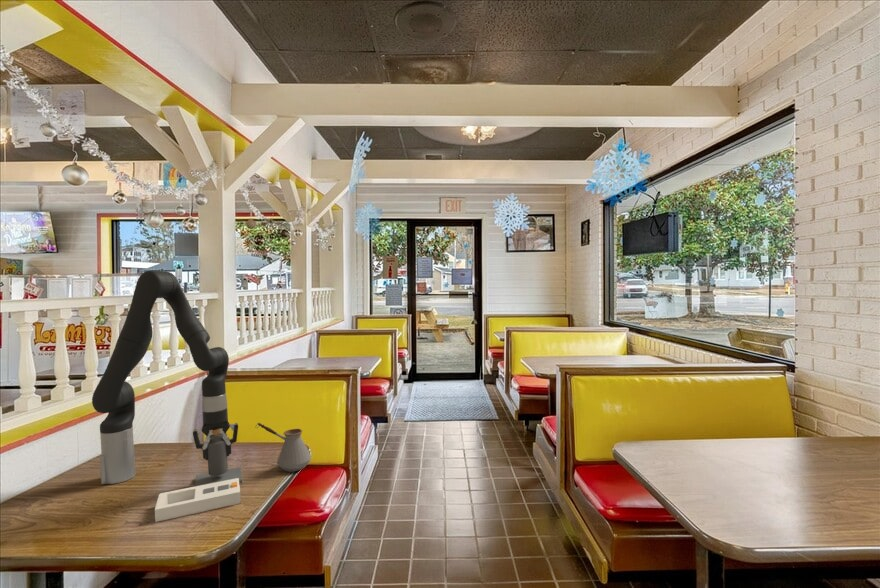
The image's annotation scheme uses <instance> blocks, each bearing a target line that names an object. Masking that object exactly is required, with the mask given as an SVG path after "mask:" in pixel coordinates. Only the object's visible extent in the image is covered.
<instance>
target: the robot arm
mask: <svg viewBox="0 0 880 588" xmlns="http://www.w3.org/2000/svg"><path fill="white" fill-rule="evenodd" d="M157 299H164V301H166V303H167V305H169V306H170V308H171V309H172V311H173V315H174V320H175V321H174V322H175V326H176V328H177V331H178V333H179V334H180V336H181V337H182V339H183V341H184V342H185V343H186V344H187V345H188V349H189V352H190V355H191V358H192V361H193V363H194V365H195V366H196V367H197V368H198V369H199V370H201V371H203V372H208V374H207V376H206V377H205V378H203V379H202V381H201V393H202V394H201V395H202V396H201V397H202V398H201V411H202V427H201V428H198V429H197V428H196V429H193V430H192V436H193V440H194V444H195V448H196V449H200V450H201V451H202V458H203V459H204V460H205V461H208V452H207V445H208V443H209V441H210V437H209V436H212V435H213V434H212V432H211V431H212V430H214V429H220V434H223V437H222V438H223V439H224V441H225V442H226V444H227V445H226V447H227V457H230V455H231V454H232V444H234V443H236V442H237V440H238V434H239V433H238V432H239V424H238V422H235V423H230V422H229V416H228V413H229V412H228V399H227V391H226V377H227V375H228V374H227V373H228V369H229V362H230V361H229V354H228V352H227V350H226V349H225V348H223V347H221V346H216V347H212V348H209V346H208V343H209V342H210V339H211V336H210V334H209V332H208V331H207V330H206V328H205V327H204V325H203V324H202V322H201V321H200V320H199V318H198V317H197V315H196V313H195V312H194V311H193V308H192V306H191V305H190V302H189V301H188V298H187V296H186V295H185V292H184V290H183V288H182V286H181V284H180V282H179V280H178V278H177V276H175V275H174V274H173V273H172V272H170V271H166V270H146V271H144V272H142V273H141V274H140V276H139V277H138V279H137V282H136V285H135V287H134V291H133V295H132V300H131V304H130V307H129V310H128V313H127V314H126V318H125V321H124V323H123V326H122V328H121V331H120V333H119V336H118V337H117V341H116V343H115V346H114V348H113V352H112V353H111V357H110V358H109V361H108V363H107V366H106V368H105V370H104V372H103V374H102V377H101V378H100V380H99V382H98V383H97V385H96V387H95V389H94V391H93V393H92V394H93V395H92V398H91V404H92V406H93V409H94V410H95V411H96V412H97V413H100V414H107V416H106V417H105V419H104V420H103V421H102V422H101V423H100V424H99V433H100V434H99V436H100V438H99V439H100V452H101V453H100V456H99V464H100V465H99V467H100V482H101V485H113V484H119V483H123V482H126V481H129V480H131V479H133V478H134V477H135V476H136V464H135V463H136V461H135V458H136V457H135V445H134V443H135V442H134V429H133V428H134V427H133V426H134V425H133V422H134V420H135V415H136V404H135V403H136V396H135V391H134V388H133V386H132V385H131V384H130V383H129V382H127V380H126V379H127V377H128V376H129V375H130V374H131V372H132V371H133V370H134V369H135V368H136V366H138V364H139V363H140V362H141V361H142V359H143V358H144V357H145V356H146V354H147V351H148V350H149V349H148V348H149V346H150V344H151V342H152V339H153V333H154V331H153V326H152V320H151V313H152V310H153V308H154V306H155V303H156V301H157ZM222 428H223V430H222ZM229 429H231V430H230V431H231V432H233V433H232V437H231V438H230V437H229V436H228V434H227V433H228V430H229ZM209 430H210V431H209ZM201 433H203V434H204V435H205V439H204V441H203V443H201V440H200V436H201Z"/></svg>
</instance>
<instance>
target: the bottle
mask: <svg viewBox="0 0 880 588" xmlns="http://www.w3.org/2000/svg"><path fill="white" fill-rule="evenodd" d="M222 430H223V428H222ZM209 431H210V430H209ZM211 432H212V434H213V435H212V436H209V437H210V441H209V443H208V445H207V452H208V460H207V469H208V470H207V471H208V473H209V475H211V476H217V475H221V474H224V473H226V472H227V471H228V469H229V467H228V456H227V447H226V445H227V444H226V442H225V441H224V439H223V438H222V437H223V434H220V429H214V430H212V431H211Z"/></svg>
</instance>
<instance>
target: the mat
mask: <svg viewBox="0 0 880 588" xmlns="http://www.w3.org/2000/svg"><path fill="white" fill-rule="evenodd" d="M235 478H239V485H241V484H240V483H242V484H243V476H242V468H241V466H239V467H233V468H228V471H227V472H226V473H224V474H221V475H217V476H211V475H209V472H207V473H206V472H205V473H203V474H202V473H201V474H196V475H195V479H194V485H193V487H195V486H200V485H205V484H210V483H215V482H220V481H225V480H230V479H235Z"/></svg>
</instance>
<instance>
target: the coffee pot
mask: <svg viewBox="0 0 880 588" xmlns="http://www.w3.org/2000/svg"><path fill="white" fill-rule="evenodd" d="M259 427H261V428H262V429H264V430H265V431H267V432H268V433H270V434H273V435H275V436H277V437H278V438H280V439H281V440H284V442H283V445H282V447H281V450H280V453H279V456H278V459H277V460H276V461H277V462H276V463H277V466H278V467H279V468H280V469H282V470H283V471H285V472H289V473H291V472H297V471H301V470H304V469H305V468H306V466H307V465H308V464H309V463H310V462H311V459H312V457H311V453H310V452H309V449H308V448H307V446H306V444H305V442H304V440H303V439H302V433H303V430H302V429H301V428H291V429H288V430H287V429H286V430H285V431H284V432H283V435H284V436H283V435H281V434H279V433H278V432H276V431H275V430H273V429H272V428H270V427H268V426H266V425H265V424H262V423H261V422H257V423H256V425H255V428H256V429H258V428H259Z"/></svg>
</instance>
